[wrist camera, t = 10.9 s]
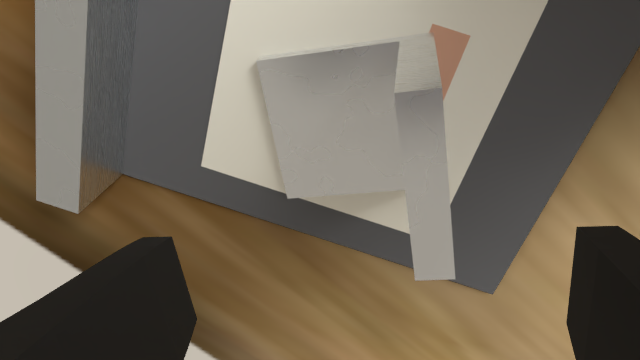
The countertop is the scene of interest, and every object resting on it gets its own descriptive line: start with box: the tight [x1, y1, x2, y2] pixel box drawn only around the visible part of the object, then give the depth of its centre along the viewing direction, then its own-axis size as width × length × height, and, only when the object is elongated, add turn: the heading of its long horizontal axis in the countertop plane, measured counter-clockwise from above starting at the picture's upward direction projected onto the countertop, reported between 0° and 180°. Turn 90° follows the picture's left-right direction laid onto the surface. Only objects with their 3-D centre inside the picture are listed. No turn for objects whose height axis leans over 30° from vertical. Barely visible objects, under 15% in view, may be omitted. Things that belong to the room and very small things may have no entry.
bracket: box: [256, 32, 455, 281], centre depth 15 cm, size 6×5×6 cm
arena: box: [35, 0, 640, 294], centre depth 15 cm, size 16×15×3 cm
